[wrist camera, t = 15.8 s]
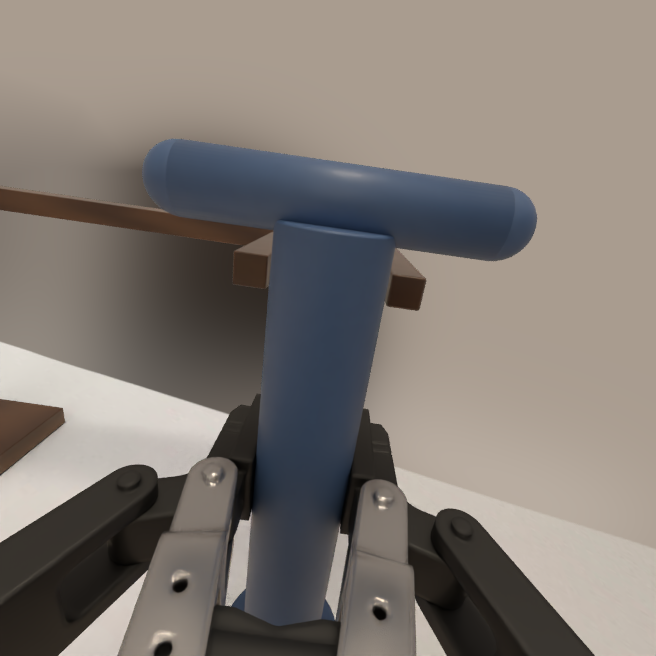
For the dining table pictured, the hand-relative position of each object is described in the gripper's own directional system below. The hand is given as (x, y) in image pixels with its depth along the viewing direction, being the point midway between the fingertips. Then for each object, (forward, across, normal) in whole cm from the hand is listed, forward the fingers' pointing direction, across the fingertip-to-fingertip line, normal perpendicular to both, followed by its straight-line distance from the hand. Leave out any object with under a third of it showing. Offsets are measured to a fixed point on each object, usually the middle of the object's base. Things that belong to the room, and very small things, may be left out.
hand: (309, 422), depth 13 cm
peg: (-3, 0, +8) cm, 9 cm away
